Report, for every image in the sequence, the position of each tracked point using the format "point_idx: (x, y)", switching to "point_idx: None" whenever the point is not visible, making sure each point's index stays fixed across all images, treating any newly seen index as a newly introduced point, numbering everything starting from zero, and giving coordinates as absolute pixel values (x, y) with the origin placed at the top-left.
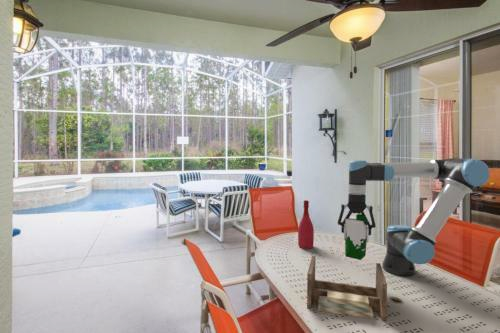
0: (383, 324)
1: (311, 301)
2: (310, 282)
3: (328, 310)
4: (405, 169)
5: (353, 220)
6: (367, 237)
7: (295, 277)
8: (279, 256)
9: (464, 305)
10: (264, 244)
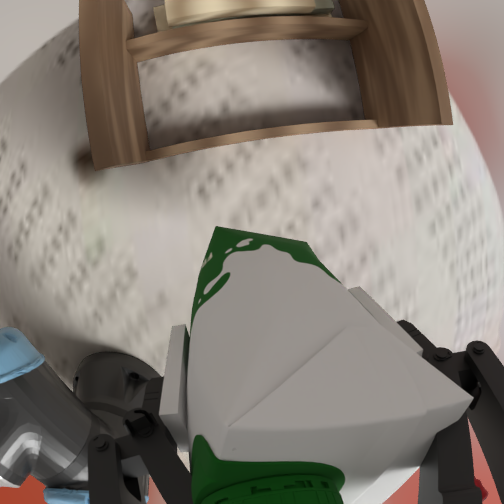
0: (128, 2)
1: (346, 4)
2: None
3: None
4: None
5: (390, 418)
6: (175, 351)
7: (428, 168)
8: (473, 294)
9: None
10: (494, 341)
